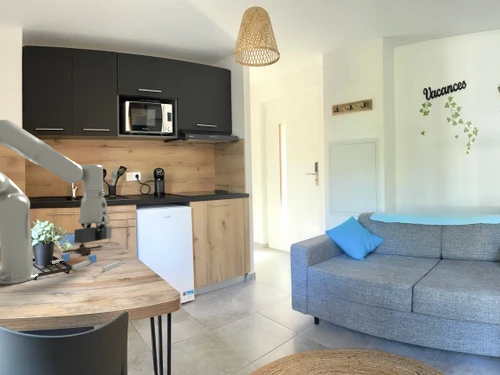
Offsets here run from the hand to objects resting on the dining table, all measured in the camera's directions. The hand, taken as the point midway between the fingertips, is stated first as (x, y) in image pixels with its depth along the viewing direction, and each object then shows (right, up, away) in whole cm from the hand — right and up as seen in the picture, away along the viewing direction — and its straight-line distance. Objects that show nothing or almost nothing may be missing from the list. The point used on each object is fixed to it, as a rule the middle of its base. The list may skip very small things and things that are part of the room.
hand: (93, 239), depth 140 cm
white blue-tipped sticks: (-6, -11, +4) cm, 13 cm away
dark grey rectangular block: (0, 0, 0) cm, 0 cm away
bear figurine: (-17, -11, +27) cm, 34 cm away
